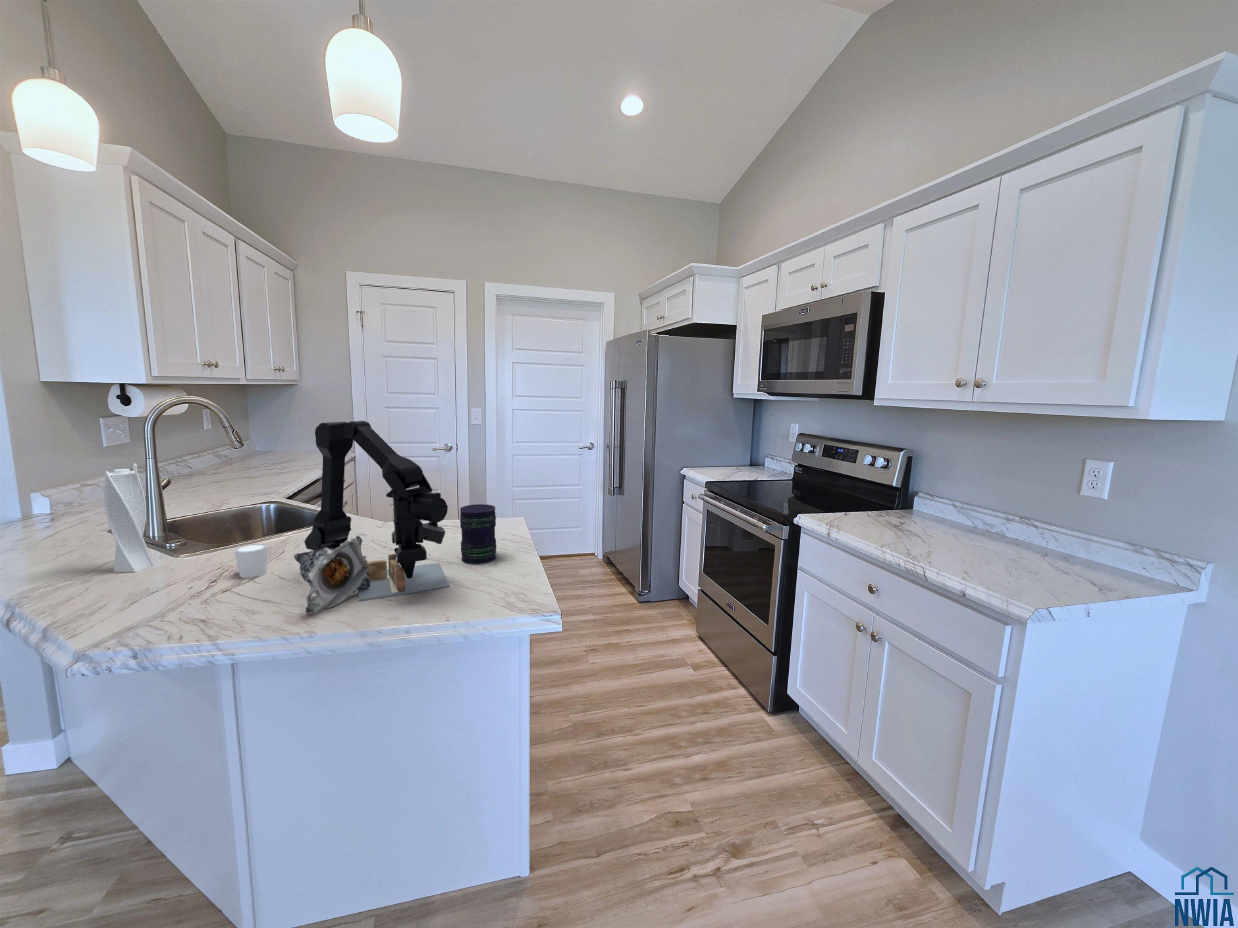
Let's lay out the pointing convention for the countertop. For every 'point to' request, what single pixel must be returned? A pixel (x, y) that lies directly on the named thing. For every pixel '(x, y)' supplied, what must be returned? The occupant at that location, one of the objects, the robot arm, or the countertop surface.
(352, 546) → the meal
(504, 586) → the countertop surface
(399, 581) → the rail
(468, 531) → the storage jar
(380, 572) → the fixed fence rail
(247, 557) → the white cylinder
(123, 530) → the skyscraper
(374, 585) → the board
